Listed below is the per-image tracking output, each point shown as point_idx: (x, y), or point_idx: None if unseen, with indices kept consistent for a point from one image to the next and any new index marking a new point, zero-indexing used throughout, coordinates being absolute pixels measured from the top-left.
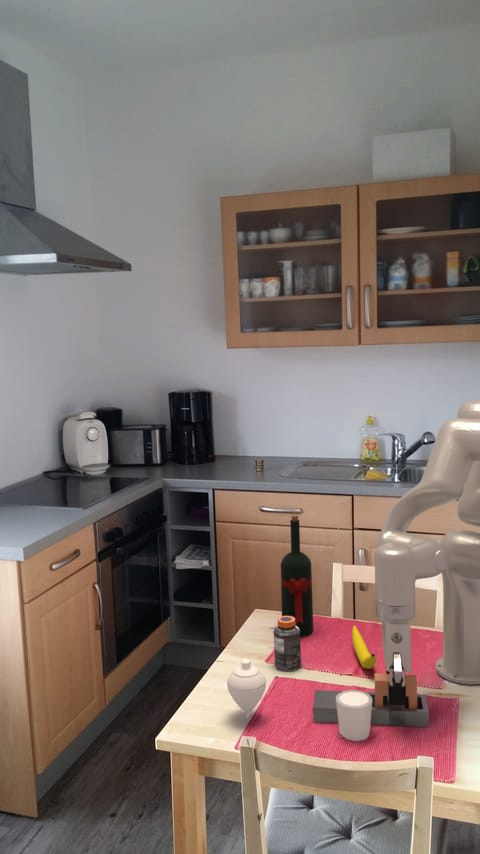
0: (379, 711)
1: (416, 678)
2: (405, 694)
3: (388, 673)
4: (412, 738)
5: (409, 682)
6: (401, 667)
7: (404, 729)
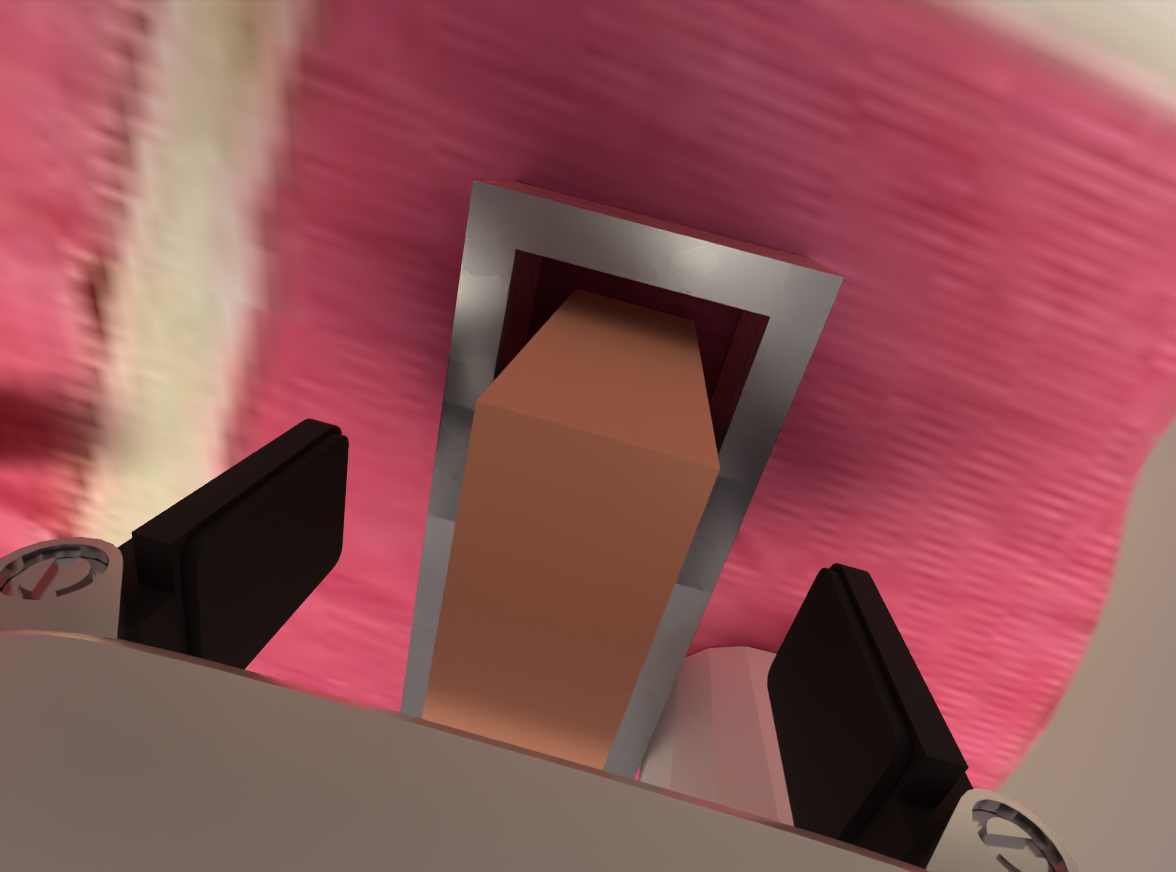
0: (688, 641)
1: (599, 436)
2: (909, 658)
3: (300, 594)
4: (915, 435)
5: (683, 558)
6: (246, 518)
7: (781, 447)
